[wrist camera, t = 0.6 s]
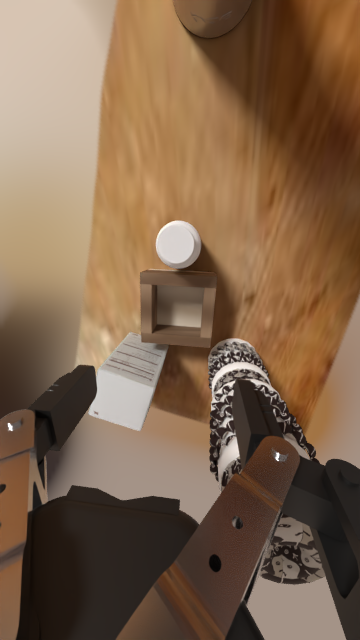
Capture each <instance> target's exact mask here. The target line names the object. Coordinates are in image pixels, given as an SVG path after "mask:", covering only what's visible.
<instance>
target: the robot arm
mask: <svg viewBox="0 0 360 640" xmlns="http://www.w3.org/2000/svg"><path fill="white" fill-rule="evenodd" d="M251 1H252V0H173V3H174V7H175V10H176V13H177V15H178V17H179V19H180V21H181V22H182V23H183V24H184V26H185V27H186V28H187V29H188V30H189V31H191V32H192V33H193V34H195V35H198V36H200V37H205V38H213V37H219V36H221V35H223V34H225V33H227V32H229V31H230V30H231V29H232V28H234V27H235V26H236V25H237V24H238V23H239V21H240V20H241V19H242V18H243V16H244V15H245V13H246V12H247V10H248V8H249V6H250V4H251ZM96 394H97V382H96V374H95V368H94V366H89V365H78V366H77V367H76V368H75V369H74V370H73V371H72V372H71V373H67V374H66V375H64V376H62V377H61V378H59V379H58V380H57V381H56V382H55V383H54V384H53V386H51V387H50V388H49V389H48V390H47V391H45V392H44V393H43V394H42V395H41V396H40V397H39V398H38V399H37V400H36V401H35V402H34V403H33V404H32V405H31V406H30V407H29V408H28V409H26V410H19V411H15V412H12V413H10V414H8V415H6V416H5V417H3V418H2V419H1V420H0V640H264V638H263V636H262V634H261V632H260V630H259V629H258V627H257V625H256V623H255V621H254V619H253V617H252V616H251V614H250V612H249V610H248V608H247V604H248V602H249V599H250V597H251V594H252V592H253V589H254V587H255V584H256V582H257V579H258V576H259V574H260V571H261V568H262V565H263V563H264V560H265V557H266V555H267V552H268V550H269V547H270V545H271V542H272V540H273V537H274V535H275V532H276V530H277V527H278V525H279V522H280V519H281V517H282V514H285V515H287V516H289V517H291V518H293V519H295V520H297V521H300V522H302V523H304V524H306V525H308V526H309V527H310V530H311V533H312V536H313V539H314V542H315V545H316V548H317V551H318V554H319V558H320V561H321V564H322V567H323V570H324V573H325V576H326V579H327V582H328V585H329V588H330V591H331V594H332V597H333V600H334V603H335V606H336V609H337V612H338V615H339V619H340V622H341V625H342V628H343V631H344V634H345V637H346V639H347V640H360V469H358V468H357V467H356V466H354V465H352V464H351V463H348V462H346V461H343V460H340V459H331V460H329V461H327V463H326V465H325V466H324V465H321V464H319V463H316V462H314V461H311V460H309V459H306V458H304V457H302V456H300V455H299V453H298V451H297V450H296V448H295V447H294V446H293V445H292V444H291V443H289V442H288V441H287V440H285V439H284V436H283V434H282V431H281V429H280V427H279V424H278V422H277V419H276V417H275V415H274V414H273V410H272V407H271V405H270V403H269V400H268V398H267V397H266V396H265V395H264V394H263V393H262V392H261V390H254V388H253V386H252V383H251V380H245V379H236V380H235V385H234V392H233V399H232V415H233V421H234V427H235V432H236V438H237V444H238V450H239V455H240V461H241V467H242V472H241V473H240V474H239V473H238V472H237V473H235V474H234V475H233V477H232V478H231V479H230V481H229V482H228V484H227V485H226V487H225V488H224V490H223V491H222V493H221V494H220V496H219V497H218V498H217V500H216V501H215V503H214V505H213V506H212V507H211V509H210V510H209V512H208V513H207V515H206V516H205V518H204V519H203V521H202V522H201V523H200V525H199V524H198V523H197V522H196V521H195V520H194V519H193V518H192V517H191V516H189V515H187V514H186V513H185V512H183V511H181V510H179V506H180V500H178V499H170V498H163V497H156V496H150V497H143V498H137V499H131V500H119V499H117V498H115V497H113V496H111V495H109V494H107V493H105V492H103V491H101V490H99V489H96V488H88V487H81V486H74V485H72V486H71V488H70V490H69V492H68V494H67V496H62V497H59V498H56V499H53V500H51V501H48V500H47V475H46V457H45V455H46V453H47V452H48V451H49V450H54V451H60V449H61V447H62V446H63V445H64V443H65V442H66V440H67V439H68V437H69V436H70V434H71V433H72V431H73V430H74V429H75V427H76V426H77V424H78V423H79V421H80V420H81V418H82V417H83V415H84V414H85V413H86V411H87V410H88V408H89V407H90V405H91V404H92V402H93V401H94V399H95V397H96Z"/></svg>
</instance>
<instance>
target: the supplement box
mask: <svg viewBox="0 0 360 640" xmlns="http://www.w3.org/2000/svg"><path fill="white" fill-rule="evenodd" d="M168 347H169V344H156V343H144V342H141V335H139V334H136V333H133V332H130V333H129V334H128V335H127V336H126V337H125V339H124V340H123V341H122V342H121V343H120V344H119V345H118V347H117V348H116V349H115V350H114V351H113V352H112V353H111V355H110V356H109V357H108V358H107V359H106V360H105V361H104V363H103V364H102V365H101V366H100V367H99V369H98V371H97V376H96V382H97V394H96V397H95V399H94V401H93V402H92V404H91V405H90V410H89V413H88V414H89V415H91V416H94V417H97V418H100V419H103V420H106V421H109V422H112V423H116V424H118V425H122V426H125V427H128V428H131V429H134V430H138V431H141V429H142V427H143V424H144V422H145V419H146V416H147V413H148V411H149V408H150V405H151V402H152V399H153V396H154V393H155V389H156V386H157V383H158V380H159V377H160V373H161V370H162V367H163V364H164V360H165V357H166V353H167V350H168Z"/></svg>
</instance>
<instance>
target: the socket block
mask: <svg viewBox="0 0 360 640" xmlns="http://www.w3.org/2000/svg"><path fill="white" fill-rule="evenodd" d="M216 284H217V275H216V274H215V272H199V271H180V270H162V269H148V270H146V271H143V272H140V289H141V342H144V343H156V344H169V345H181V346H193V347H206V348H210V346H211V335H212V325H213V315H214V305H215V295H216Z"/></svg>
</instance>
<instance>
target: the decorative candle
mask: <svg viewBox="0 0 360 640" xmlns="http://www.w3.org/2000/svg"><path fill="white" fill-rule="evenodd" d="M208 369H209V371H208V374H209V375H210V377H209V382H210V383H209V388H210V389H212V398H213V400H212V402H211V413H210V417H211V418H212V419H211V420H210V429H211V431H212V432H211V434H210V438H211V439H210V445H211V447H210V450H209V452H210V462H211V463H212V464H211V465H210V471H211V473H212V474H214V475H215V476H216V480H217V481H218V482H219V489H220V491H221V493H222V491H223V490H224V488H225V487H226V485H227V484H228V482H229V481H230V479H231V478H232V477H233V475H234V474H235V473H237V472H238V473H239V474H240V473H241V472H242V467H241V461H240V455H239V450H238V444H237V438H236V432H235V427H234V421H233V415H232V399H233V392H234V385H235V380H236V379H245V380H251V383H252V386H253V388H254V390H261V392H262V393H263V394H264V395H265V396H266V397H267V398H268V400H269V403H270V405H271V407H272V410H273V414H274V415H275V417H276V419H277V422H278V424H279V427H280V429H281V431H282V434H283V436H284V439H285V440H287V441H288V442H289V443H291V444H292V445H293V446H294V447H295V448H296V450H297V451H298V453H299V455H300V456H302V457H304V458H306V459H309V457H308V455H307V453H306V451H305V449H306V450H307V452H308V454H309V456H310V459H309V460H311V461H314V462H316V463H319V461H318V460H317V459H316V458H314V457H315V455H316V451H315V449H314V447H313V446H312V445H311V444H309V443H307V441H306V438H305V436H304V435H303V434H302V433H303V431H302V428H301V427H300V425H298V424H296V418H295V417H294V416H293V415H292V414H290V413H289V410H288V408H287V406H286V403H285V401H283V400H281V398H280V395H279V393H278V392H277V391H276V390H275V389H274V388H273V387H272V386H271V384H270V379H269V378H268V376H269V374H268V372H267V371H266V370H265V366H264V365H263V364H262V360H261V359H260V357H259V355H258V354H257V353H256V351H255V348H254V347H253V346H252V345H250V344H249V343H248V342H247V341H244V340H241V339H238V338H231V339H225V340H223V341H220V342H218V343H217V344H216V345H215V346H214V347H213V348H212V349H211V351H210V354H209V356H208ZM219 452H220V455H219ZM319 464H320V463H319ZM217 465H218V467H217ZM259 576H261V577H262V578H265V579H268V580H271V581H274V582H277V583H284V584H302V583H310V582H313V581H315V580H318V579H320V578H323V577H325V573H324V570H323V567H322V564H321V561H320V558H319V554H318V551H317V548H316V545H315V542H314V539H313V536H312V533H311V530H310V527H309V526H308V525H306V524H304V523H302V522H300V521H297V520H295V519H293V518H291V517H289V516H287V515H285V514H282V517H281V519H280V522H279V525H278V527H277V530H276V532H275V535H274V537H273V540H272V542H271V545H270V547H269V550H268V552H267V555H266V557H265V560H264V563H263V565H262V568H261V571H260V574H259Z"/></svg>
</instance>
